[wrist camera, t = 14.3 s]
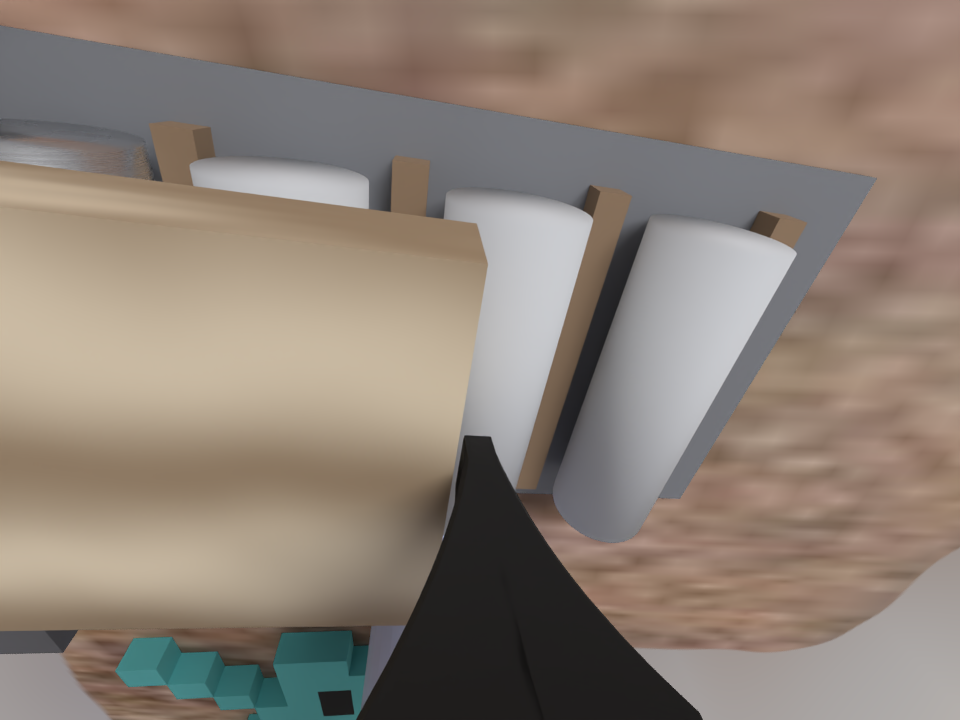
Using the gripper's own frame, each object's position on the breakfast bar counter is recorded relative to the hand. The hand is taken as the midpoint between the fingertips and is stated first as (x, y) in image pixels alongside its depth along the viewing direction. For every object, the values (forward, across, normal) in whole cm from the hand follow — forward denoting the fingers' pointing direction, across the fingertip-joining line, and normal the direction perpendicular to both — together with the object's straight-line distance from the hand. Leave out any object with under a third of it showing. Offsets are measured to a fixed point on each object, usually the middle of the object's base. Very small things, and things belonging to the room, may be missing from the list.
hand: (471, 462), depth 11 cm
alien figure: (+7, +7, +33) cm, 34 cm away
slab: (+1, +7, 0) cm, 7 cm away
